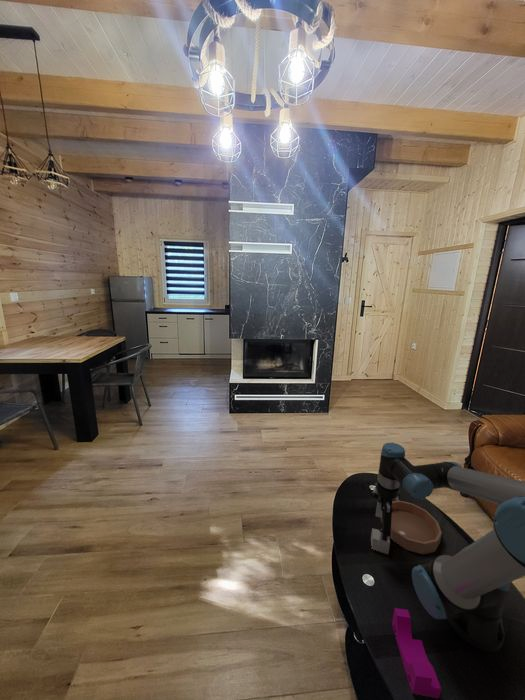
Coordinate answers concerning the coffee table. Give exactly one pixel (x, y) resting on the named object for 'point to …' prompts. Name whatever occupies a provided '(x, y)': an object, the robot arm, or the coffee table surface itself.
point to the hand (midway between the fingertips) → (380, 530)
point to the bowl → (414, 528)
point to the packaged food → (392, 499)
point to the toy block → (414, 657)
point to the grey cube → (375, 542)
